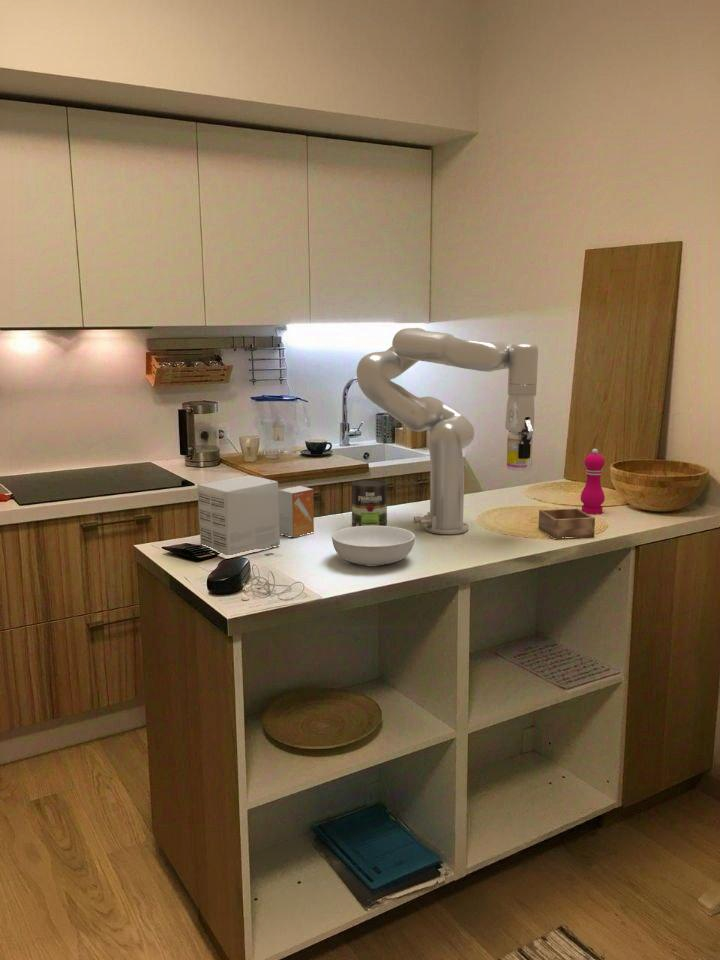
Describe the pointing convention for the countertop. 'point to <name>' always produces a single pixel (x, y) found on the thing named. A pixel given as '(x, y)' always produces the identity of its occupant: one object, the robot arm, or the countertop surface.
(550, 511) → the crate
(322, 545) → the countertop surface
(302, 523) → the small box
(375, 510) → the coffee can
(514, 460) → the supplement bottle
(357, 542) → the serving bowl
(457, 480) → the robot arm
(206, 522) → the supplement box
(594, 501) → the pepper mill
